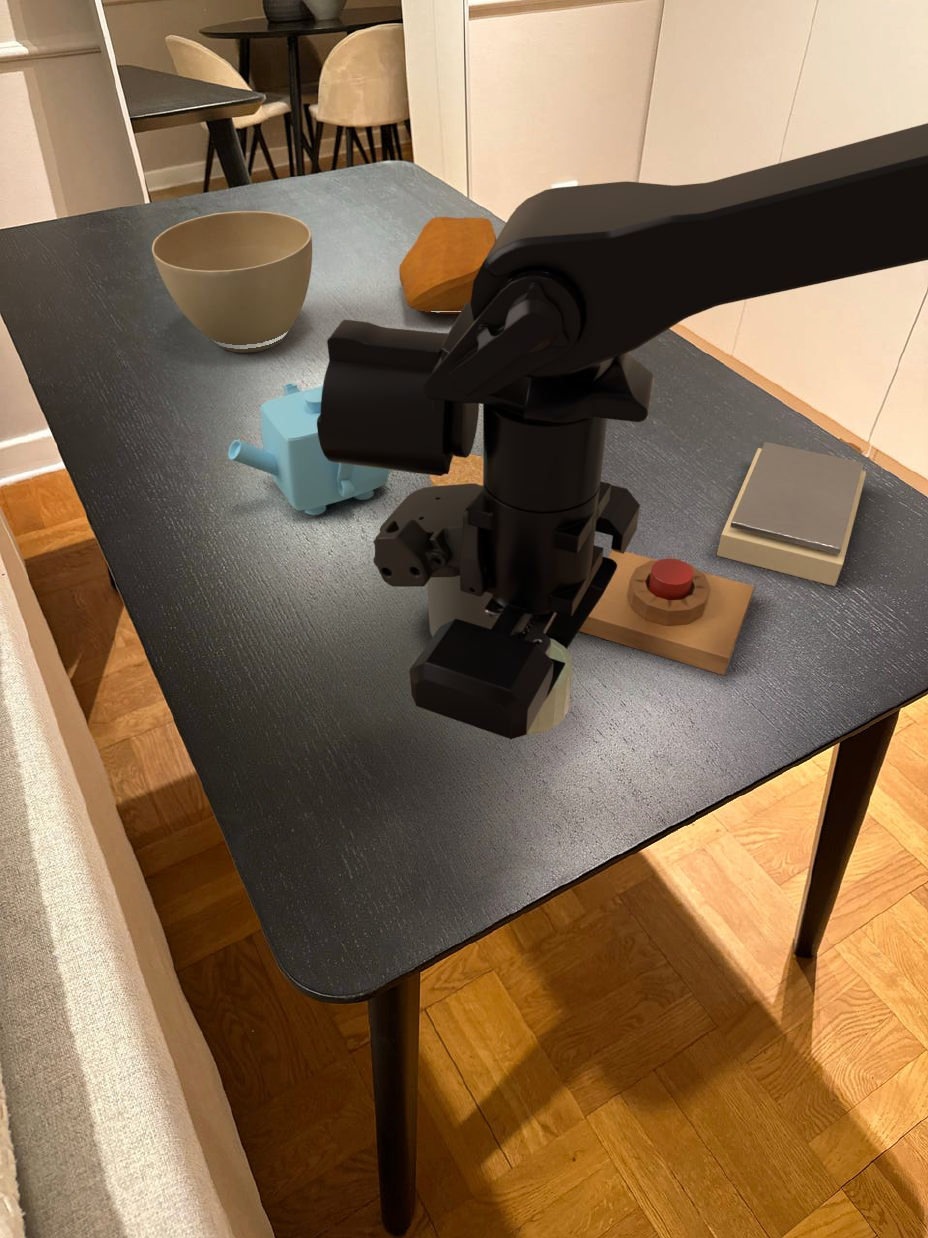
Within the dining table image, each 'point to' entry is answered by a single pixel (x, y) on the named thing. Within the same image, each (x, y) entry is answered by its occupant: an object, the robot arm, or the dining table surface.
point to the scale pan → (799, 497)
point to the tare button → (671, 579)
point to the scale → (785, 547)
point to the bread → (445, 263)
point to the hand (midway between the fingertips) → (530, 694)
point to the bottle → (446, 590)
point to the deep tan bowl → (237, 274)
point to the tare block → (671, 615)
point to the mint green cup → (555, 693)
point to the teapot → (304, 455)
